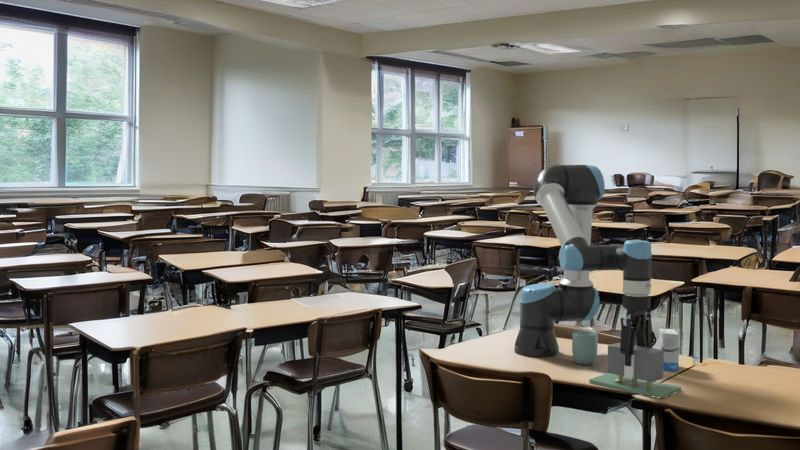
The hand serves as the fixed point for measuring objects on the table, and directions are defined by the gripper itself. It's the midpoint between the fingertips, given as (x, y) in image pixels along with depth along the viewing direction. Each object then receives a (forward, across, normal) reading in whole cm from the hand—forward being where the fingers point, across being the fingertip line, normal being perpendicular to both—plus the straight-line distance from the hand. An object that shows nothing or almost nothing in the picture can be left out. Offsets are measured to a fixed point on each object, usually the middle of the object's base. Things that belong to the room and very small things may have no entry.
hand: (634, 374), depth 204 cm
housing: (0, 0, 0) cm, 0 cm away
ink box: (+4, +28, +3) cm, 29 cm away
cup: (+4, +13, +24) cm, 28 cm away
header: (+3, 0, 0) cm, 3 cm away
